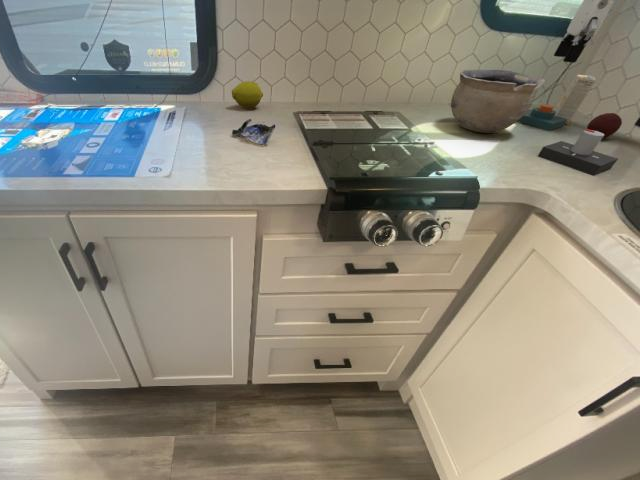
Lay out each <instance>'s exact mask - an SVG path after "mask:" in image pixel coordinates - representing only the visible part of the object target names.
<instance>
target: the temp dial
mask: <svg viewBox="0 0 640 480" xmlns="http://www.w3.org/2000/svg"><path fill="white" fill-rule="evenodd" d="M603 136H604V134H603V133H601V132H598V131H593V130H589V129H587V128H585V129H584V130H583V131H582V132H581V134H580V135H579V137H578V138H577V140H576V141H575V142H574V144H573V145H574V146H573V147H572V148H571V151H572V152H573V153H576V154H579V155H590V154H591V153H592V151H595V149H596V148H597V146H598V145H599V143H600V142H601V141H602V139H604V138H603Z"/></svg>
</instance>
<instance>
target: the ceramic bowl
mask: <svg viewBox="0 0 640 480" xmlns="http://www.w3.org/2000/svg"><path fill="white" fill-rule="evenodd" d="M545 83H546V80H545V79H544V78H543V77H536V76H532V75H529V74H526V73H522V72H521V73H519V72H517V71H512V70H505V69H465V70H462V71H461V72H460V73H459V82H458V83H457V85H456V87H455V89H454V91H453V93H452V95H451V100H450V108H451V113H452V116H453V118H454V120H455V121H456V123H457V125H459V126H460V127H462V128H463V129H466V130H468V131H471V132H476V133H482V134H494V133H495V134H496V133H499V132H501V131H504V130H505V129H508V128H509V127H511V126H512V125H514V124H515V123H516V122H518V120H519V119H520V118H521V117H522V116H523V115H524V114H525V113H526V112H527V111H528V110H531V108H532V105H533V103H534V100H535V98H536V95H537V92H538V91H539V90H540V88H542V87H543V85H544V84H545Z"/></svg>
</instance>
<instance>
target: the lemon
mask: <svg viewBox="0 0 640 480" xmlns="http://www.w3.org/2000/svg"><path fill="white" fill-rule="evenodd" d="M231 96H232V97H231V98H232V99H233V100H234V101H235V102H236V104H237V105H239V106H240V107H242V108H245V109H253V108H255V107H257V106H258V105H259V104H260V103H261V100H262V98H263V97H264V93H263V92H262V90H261V87H260V85H259V84H258V83H257V82H254V81H250V80H246V81H243V82H240V83H238V84H237V85H236V86H235V87H233V88H232V89H231Z"/></svg>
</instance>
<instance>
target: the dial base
mask: <svg viewBox="0 0 640 480" xmlns="http://www.w3.org/2000/svg"><path fill="white" fill-rule="evenodd" d="M573 146H574V144H573V143H570V142H567V141H563V140H561V141H557V142H554V143H551V144H547V145H544V146H542V148H541V150H540V151H539V153H538V155H537V157H541V158H543V159H545V160H549V161H552V162H555V163H557V164H560V165H563V166H566V167H569V168H571V169H575V170H577V171H580V172H584V173H587V174H589V175H592V176H595V175H597V174H600V173H603V172H605V171H607V170H609V169H612V167H614V166H615V163H617V161H618V160H619V158H618V157H615V156H611V155H608V154H605V153H602V152H599V151H595V150H593V151H592V153H591V154H590V155H579V154H576V153H573V152H572V151H571V148H572V147H573Z"/></svg>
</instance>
